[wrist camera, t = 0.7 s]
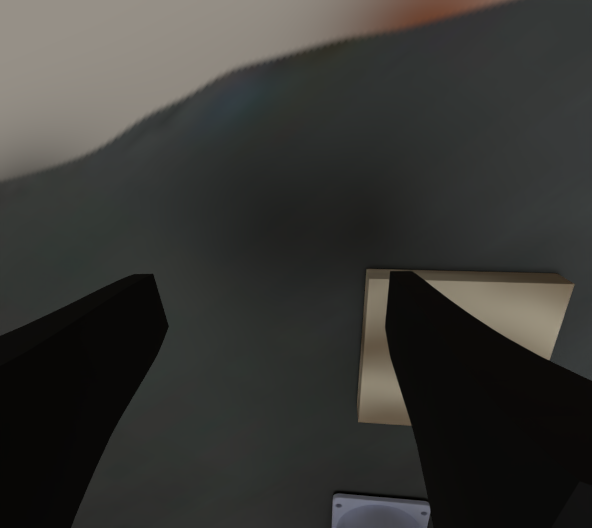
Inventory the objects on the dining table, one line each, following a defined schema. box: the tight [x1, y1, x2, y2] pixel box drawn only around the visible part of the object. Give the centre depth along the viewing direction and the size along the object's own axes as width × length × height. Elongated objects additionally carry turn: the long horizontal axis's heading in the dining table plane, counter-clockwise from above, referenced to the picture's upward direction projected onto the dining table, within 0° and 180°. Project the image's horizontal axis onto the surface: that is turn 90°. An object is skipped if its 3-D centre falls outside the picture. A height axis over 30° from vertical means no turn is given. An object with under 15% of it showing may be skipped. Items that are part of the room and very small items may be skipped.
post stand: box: [357, 269, 574, 426], centre depth 20 cm, size 11×11×5 cm
